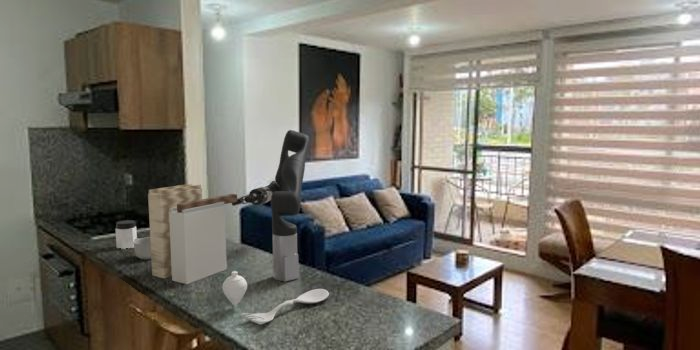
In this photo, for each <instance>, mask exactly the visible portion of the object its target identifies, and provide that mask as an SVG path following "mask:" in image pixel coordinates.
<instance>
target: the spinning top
mask: <svg viewBox="0 0 700 350" xmlns="http://www.w3.org/2000/svg"><path fill="white" fill-rule="evenodd" d="M238 273H239V272H238V271H236V270H233V271H232V272H231V275H230V276H228V277H226V278H225V280H224V281H223V283H222V287H221V288H222V292H223V293H224V296H225V297H226V298H227V299H228V301H229V302H230V303H231V304H232V305H233V306H234V309H237V306H238V305H239V303H240V302H241V301H242V299H243V297H244V296H245V294H246V292H247V289H248V283H247V281H246V278H244V277H243V276H242V275H239V274H238Z"/></svg>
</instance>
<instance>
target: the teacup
mask: <svg viewBox="0 0 700 350" xmlns="http://www.w3.org/2000/svg"><path fill="white" fill-rule="evenodd" d="M133 244H134V248H133V251H134V255H135V256H136V257H137V259H138V258H139V259H141V260H143V259H144V260H151V241H150V236H147V237H142V238H141V237H140V238H138V237H137V239H135V240H134V242H133Z"/></svg>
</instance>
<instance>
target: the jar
mask: <svg viewBox="0 0 700 350" xmlns="http://www.w3.org/2000/svg"><path fill="white" fill-rule="evenodd" d="M115 224H116V225H115V241H116V243H115V244H116V248H117V249H119V248H121V250H127V249H126V248H128V249H134V244H133V242H134V240H135V239H137V238H138V236H137V235H138V234H137V233H138V232H137V231H138V230H137V226H136V221H135V220H132V219H131V220H130V219H125V220H119V221H116V223H115Z"/></svg>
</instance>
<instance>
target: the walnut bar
mask: <svg viewBox="0 0 700 350" xmlns="http://www.w3.org/2000/svg"><path fill="white" fill-rule="evenodd" d="M237 198H238V194H235V193H229V194H223V195H219V196H214V197H209V198H202V200H197V201H191V202H186V203H181V204H177V212H179V213H182V210H185V209H190V208H195V207H200V206H205V205H210V204H215V203H219V202H224V205H227V204H232V203H233V202H237Z"/></svg>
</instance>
